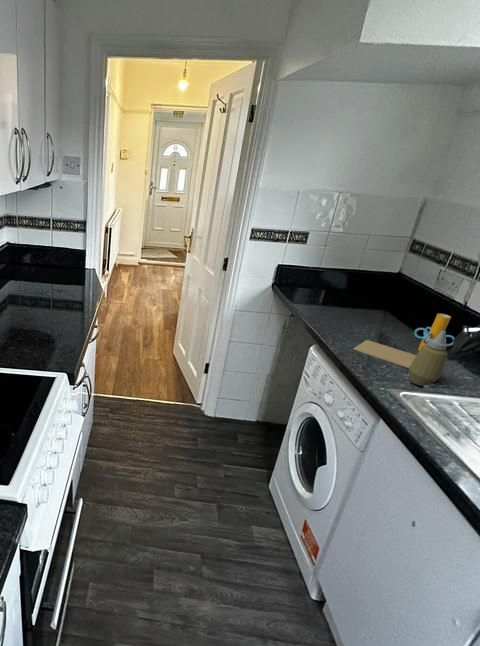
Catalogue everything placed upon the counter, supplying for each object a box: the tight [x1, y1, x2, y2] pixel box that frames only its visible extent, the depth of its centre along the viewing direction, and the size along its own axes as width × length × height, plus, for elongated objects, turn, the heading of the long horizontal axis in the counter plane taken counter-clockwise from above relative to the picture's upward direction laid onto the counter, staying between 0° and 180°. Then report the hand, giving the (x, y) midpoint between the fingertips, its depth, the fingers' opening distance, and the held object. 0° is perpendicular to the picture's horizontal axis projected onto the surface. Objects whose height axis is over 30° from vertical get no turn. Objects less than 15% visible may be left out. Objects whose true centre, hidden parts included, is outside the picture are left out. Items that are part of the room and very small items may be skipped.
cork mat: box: [352, 339, 417, 369], centre depth 151 cm, size 18×14×1 cm
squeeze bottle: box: [408, 330, 449, 387], centre depth 128 cm, size 8×8×18 cm
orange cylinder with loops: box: [413, 313, 456, 352], centre depth 151 cm, size 12×10×15 cm
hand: (450, 355), depth 118 cm, fingers closed
